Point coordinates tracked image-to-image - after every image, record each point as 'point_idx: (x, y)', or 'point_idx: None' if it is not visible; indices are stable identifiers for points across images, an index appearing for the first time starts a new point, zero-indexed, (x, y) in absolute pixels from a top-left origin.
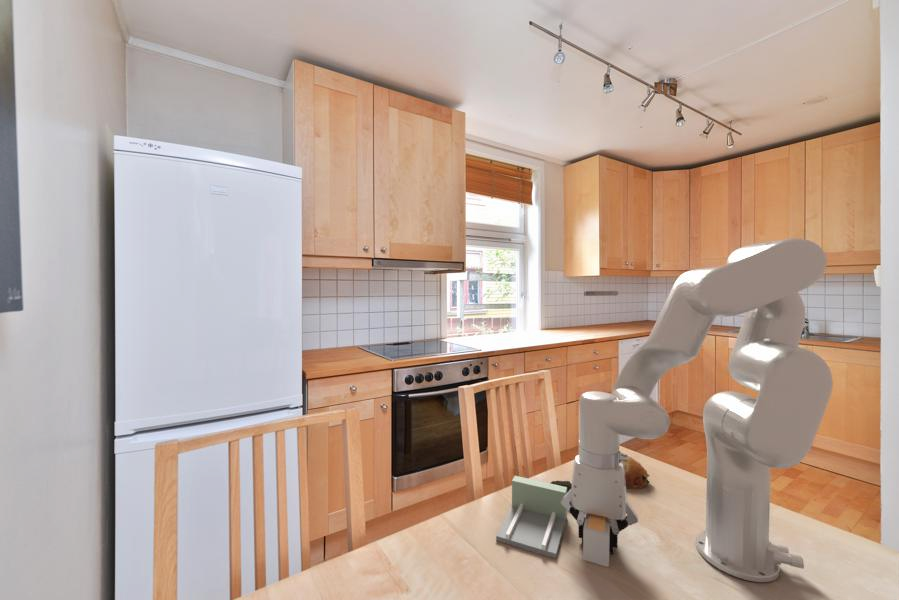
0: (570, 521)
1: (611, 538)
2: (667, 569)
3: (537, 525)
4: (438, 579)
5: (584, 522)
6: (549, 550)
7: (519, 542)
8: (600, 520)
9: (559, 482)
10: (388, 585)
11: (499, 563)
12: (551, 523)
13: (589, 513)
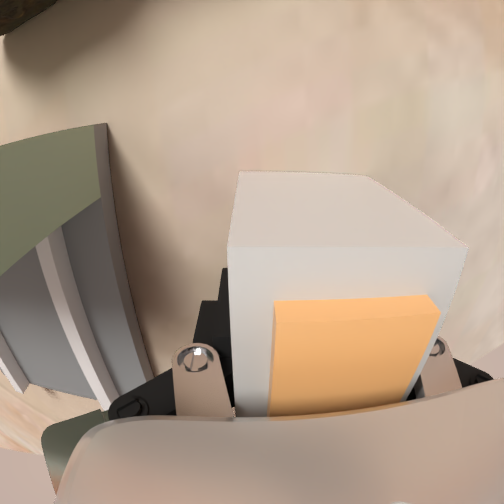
0: (131, 147)
1: None
2: (497, 297)
3: (32, 300)
4: (36, 442)
5: (231, 405)
6: None
7: (51, 387)
8: None
9: None
10: (15, 445)
11: (65, 419)
12: (66, 310)
13: (261, 413)
